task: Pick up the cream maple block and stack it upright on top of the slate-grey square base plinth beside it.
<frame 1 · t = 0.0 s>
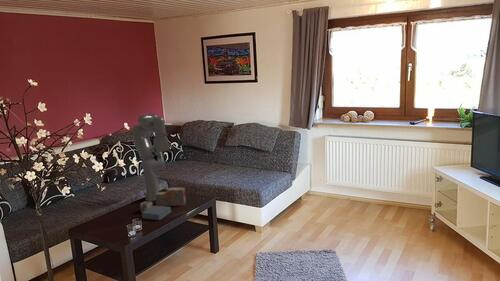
hand: (163, 159, 266), 37 cm above the table, tool pointing down, fingers open, 9 cm apart
slate base plinth: (157, 215, 263), on the table
stack of blocks: (171, 204, 283), on the table
cream block: (147, 210, 274), on the table
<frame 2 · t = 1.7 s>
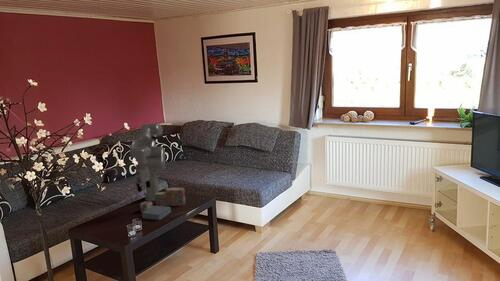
hand: (144, 189, 270), 16 cm above the table, tool pointing down, fingers open, 9 cm apart
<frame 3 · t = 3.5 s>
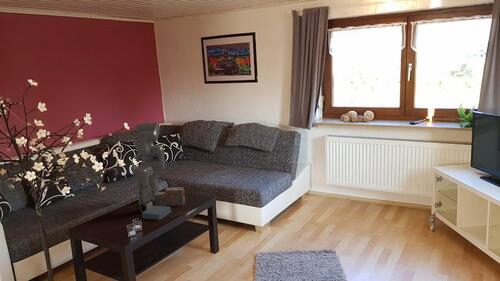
hand: (146, 209, 273), 1 cm above the table, tool pointing down, fingers closed on cream block, 6 cm apart
cream block: (147, 210, 274), on the table, touching gripper
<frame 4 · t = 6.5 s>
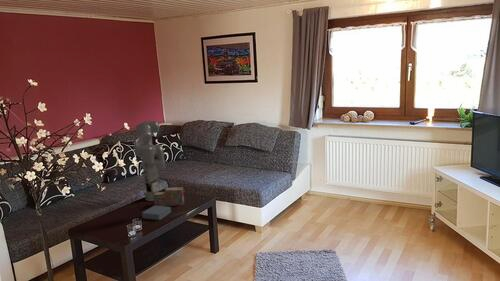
hand: (152, 189, 261), 18 cm above the table, tool pointing down, fingers closed on cream block, 6 cm apart
cream block: (152, 191, 261), point 17 cm above the table, touching gripper
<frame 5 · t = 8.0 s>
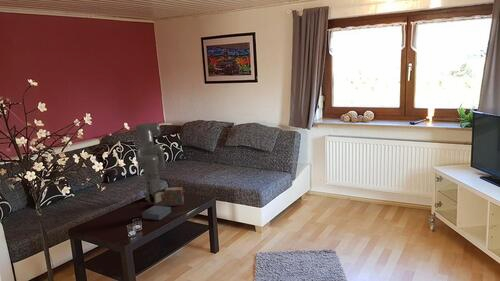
hand: (155, 200, 261), 11 cm above the table, tool pointing down, fingers closed on cream block, 6 cm apart
cream block: (155, 201, 261), point 10 cm above the table, touching gripper
when the fingers open (6 cm above the table, at t = 9.3 s): cream block drops 1 cm, resting on slate base plinth.
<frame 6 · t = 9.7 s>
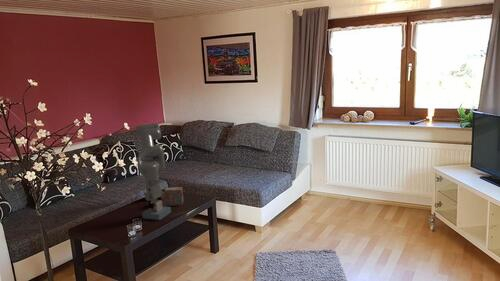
hand: (155, 205, 262), 7 cm above the table, tool pointing down, fingers open, 9 cm apart
cream block: (156, 209, 263), point 4 cm above the table, touching slate base plinth
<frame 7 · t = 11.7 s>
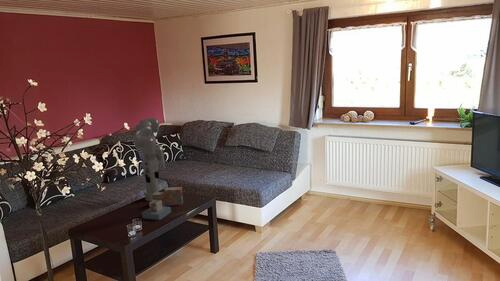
hand: (152, 180, 260), 25 cm above the table, tool pointing down, fingers open, 9 cm apart
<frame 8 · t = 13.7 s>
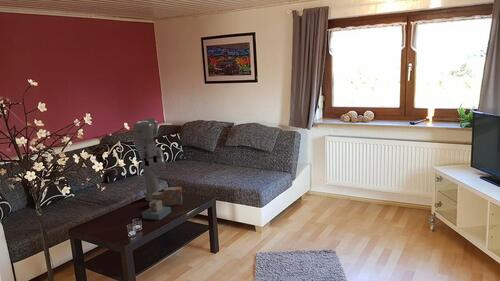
hand: (151, 164, 271), 33 cm above the table, tool pointing down, fingers open, 9 cm apart
at the end: cream block inside the target area on the slate base plinth (0.1 cm from its centre), point 4.0 cm above the slate base plinth's base; cream block tilted 0°; the gripper is holding nothing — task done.
